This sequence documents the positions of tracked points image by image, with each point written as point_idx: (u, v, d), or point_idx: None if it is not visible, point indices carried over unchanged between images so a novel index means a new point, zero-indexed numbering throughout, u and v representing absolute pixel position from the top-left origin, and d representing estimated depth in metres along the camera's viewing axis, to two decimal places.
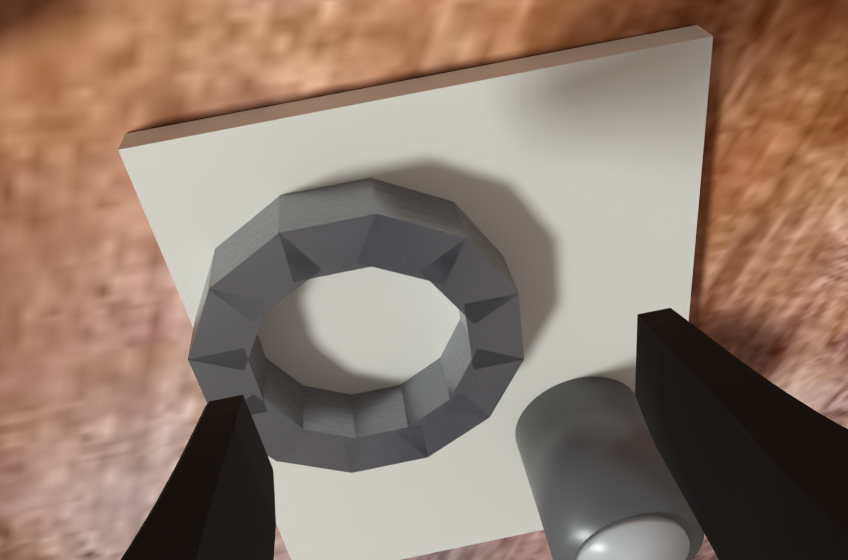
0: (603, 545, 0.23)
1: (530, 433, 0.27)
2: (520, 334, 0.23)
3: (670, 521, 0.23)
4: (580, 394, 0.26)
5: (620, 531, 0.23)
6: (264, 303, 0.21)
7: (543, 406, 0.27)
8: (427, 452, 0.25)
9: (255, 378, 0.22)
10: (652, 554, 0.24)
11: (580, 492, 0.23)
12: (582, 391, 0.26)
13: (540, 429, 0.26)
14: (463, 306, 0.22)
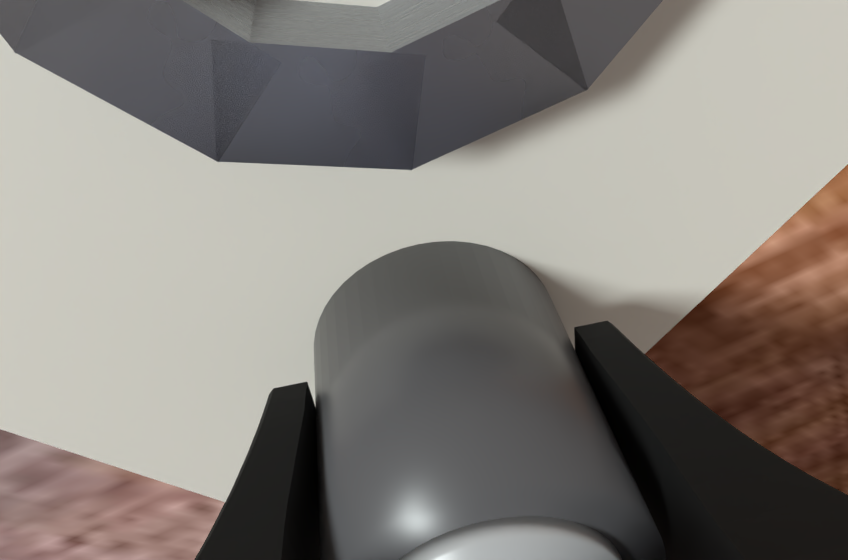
0: (498, 556, 0.09)
1: (396, 288, 0.13)
2: (640, 23, 0.10)
3: None
4: (520, 279, 0.13)
5: (556, 544, 0.09)
6: None
7: (447, 260, 0.13)
8: (227, 148, 0.10)
9: None
10: None
11: (505, 421, 0.10)
12: (523, 278, 0.13)
13: (428, 288, 0.12)
14: None
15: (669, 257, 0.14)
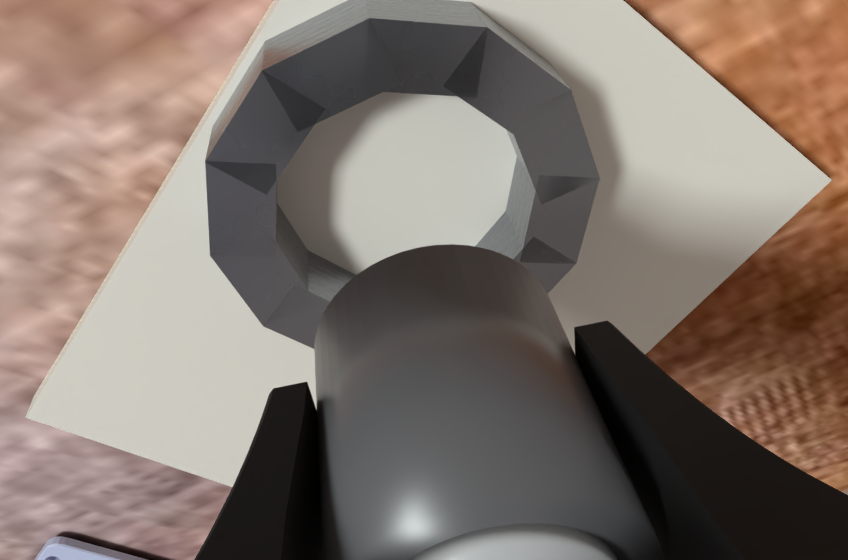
0: None
1: (396, 292, 0.13)
2: None
3: None
4: (519, 282, 0.13)
5: (556, 551, 0.09)
6: (397, 82, 0.17)
7: (446, 264, 0.13)
8: None
9: (296, 150, 0.17)
10: None
11: (505, 429, 0.10)
12: (522, 282, 0.13)
13: (428, 293, 0.12)
14: (531, 238, 0.20)
15: None
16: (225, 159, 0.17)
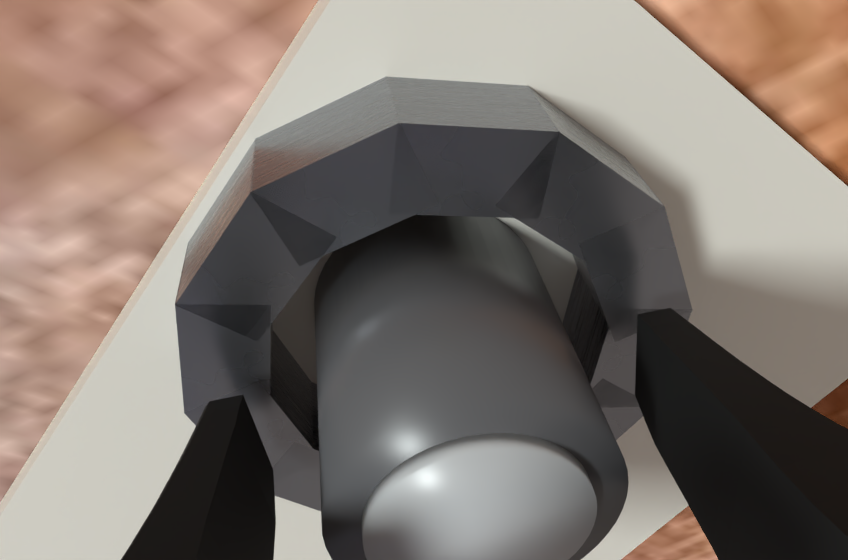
0: (476, 467, 0.11)
1: (389, 244, 0.14)
2: None
3: (593, 493, 0.12)
4: (502, 237, 0.14)
5: (527, 456, 0.11)
6: (433, 202, 0.12)
7: (435, 219, 0.14)
8: None
9: (297, 287, 0.13)
10: (513, 540, 0.12)
11: (484, 352, 0.11)
12: (505, 237, 0.15)
13: (417, 243, 0.14)
14: (599, 380, 0.15)
15: (631, 511, 0.21)
16: (202, 301, 0.13)
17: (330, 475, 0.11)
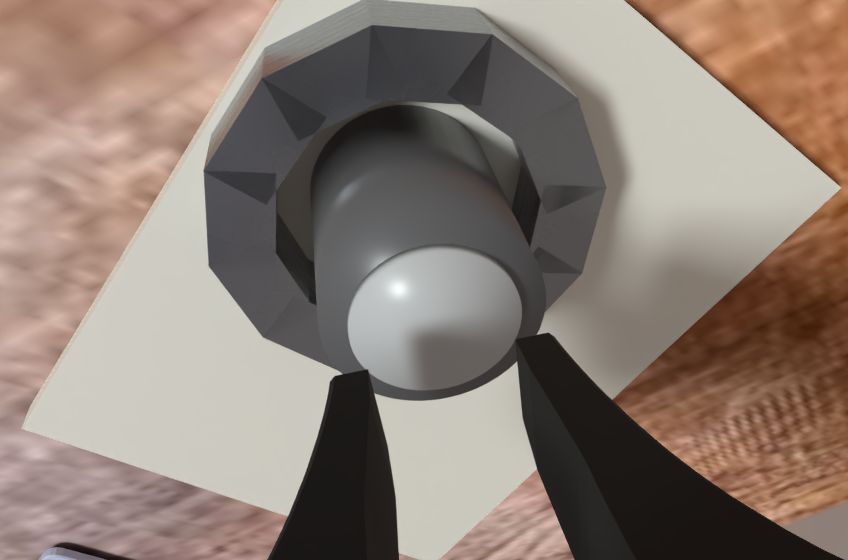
0: (430, 267, 0.15)
1: (369, 131, 0.18)
2: None
3: None
4: (458, 130, 0.19)
5: (467, 259, 0.15)
6: (399, 90, 0.16)
7: (404, 114, 0.18)
8: None
9: (296, 159, 0.17)
10: (460, 335, 0.16)
11: (436, 190, 0.15)
12: (460, 131, 0.19)
13: (390, 129, 0.18)
14: (536, 248, 0.19)
15: None
16: (224, 168, 0.17)
17: (324, 281, 0.15)
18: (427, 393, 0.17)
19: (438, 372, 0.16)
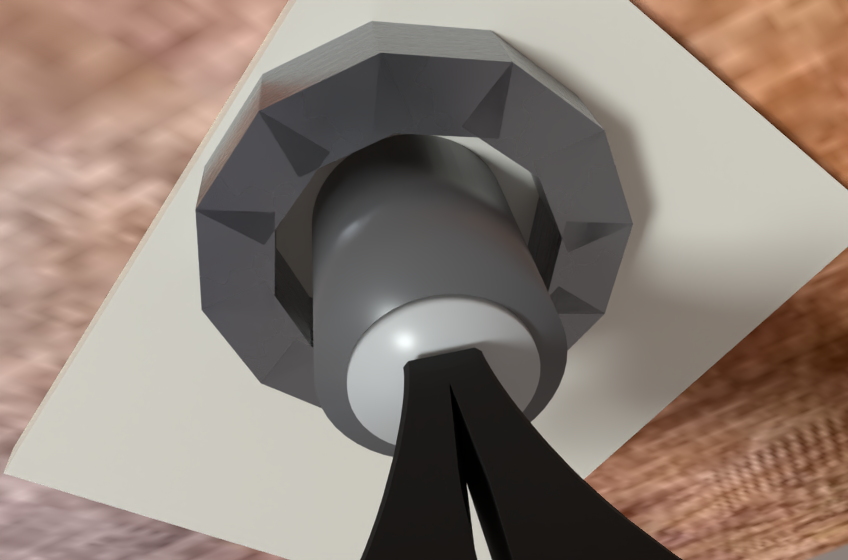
0: (439, 320, 0.13)
1: (376, 163, 0.16)
2: None
3: (537, 354, 0.14)
4: (473, 162, 0.17)
5: (481, 312, 0.13)
6: (410, 122, 0.15)
7: (415, 144, 0.17)
8: None
9: (297, 196, 0.16)
10: None
11: (449, 233, 0.14)
12: (475, 163, 0.17)
13: (399, 161, 0.16)
14: (555, 288, 0.18)
15: (595, 428, 0.24)
16: (218, 207, 0.16)
17: (321, 331, 0.14)
18: None
19: None
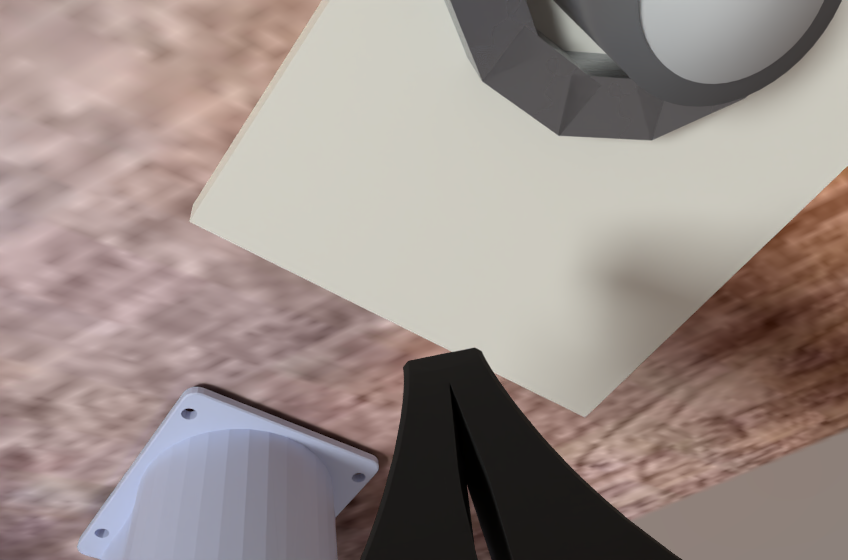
0: None
1: None
2: None
3: None
4: None
5: None
6: None
7: None
8: (565, 128, 0.19)
9: None
10: (759, 8, 0.14)
11: None
12: None
13: None
14: None
15: (765, 199, 0.24)
16: None
17: None
18: (696, 96, 0.15)
19: (723, 59, 0.15)
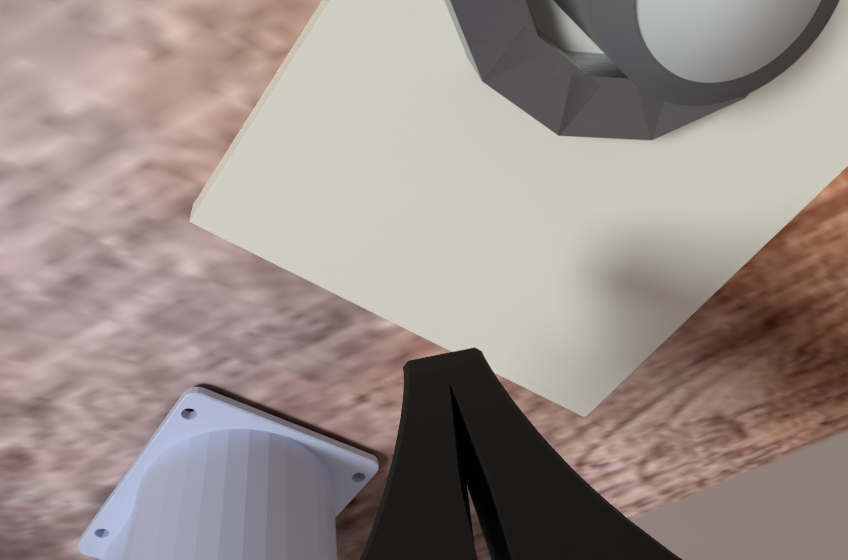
0: None
1: None
2: None
3: None
4: None
5: None
6: None
7: None
8: (565, 128, 0.19)
9: None
10: (754, 7, 0.14)
11: None
12: None
13: None
14: None
15: (765, 199, 0.24)
16: None
17: None
18: (690, 95, 0.15)
19: (718, 57, 0.15)
